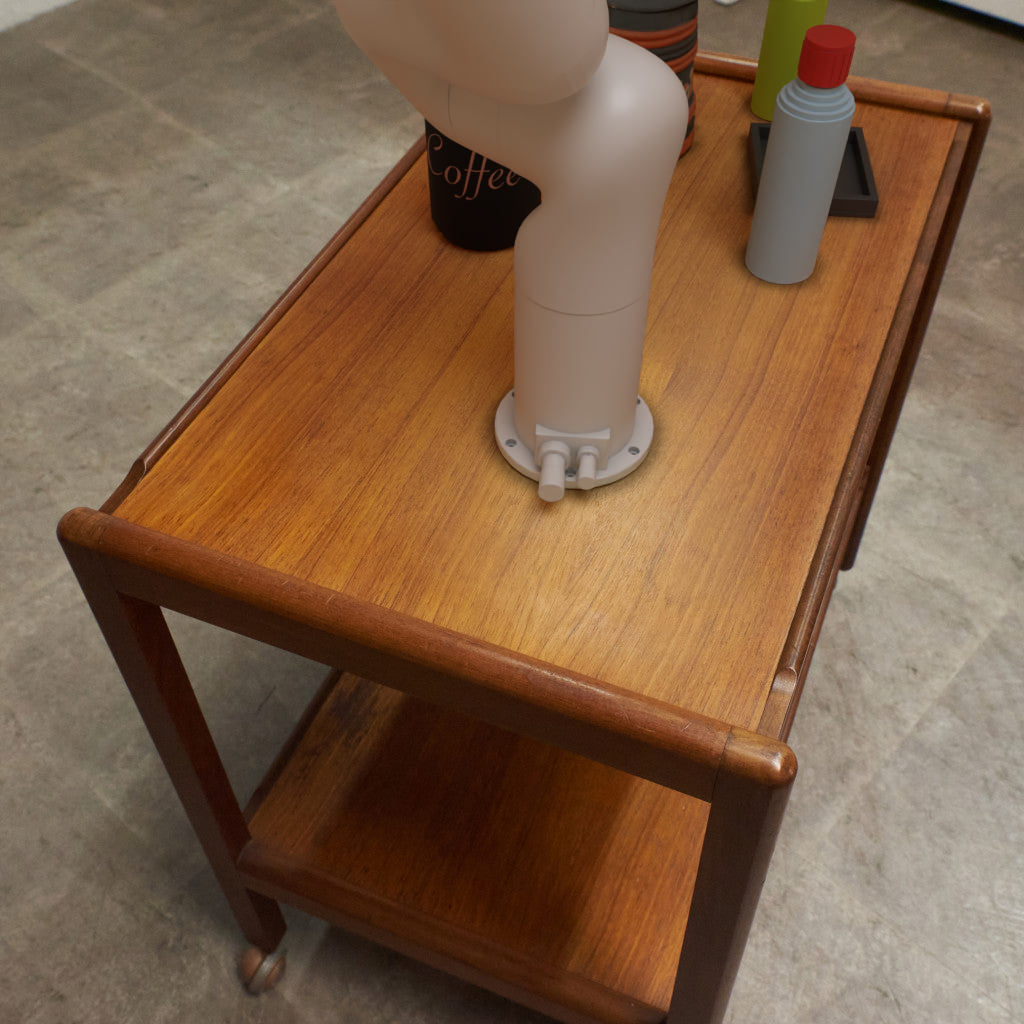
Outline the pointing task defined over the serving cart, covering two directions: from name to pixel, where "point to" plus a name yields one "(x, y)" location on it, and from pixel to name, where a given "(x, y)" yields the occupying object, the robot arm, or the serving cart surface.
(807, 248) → the bottle
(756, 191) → the tray
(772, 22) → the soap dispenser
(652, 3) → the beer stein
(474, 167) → the coffee jar
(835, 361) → the serving cart surface
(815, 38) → the cap
